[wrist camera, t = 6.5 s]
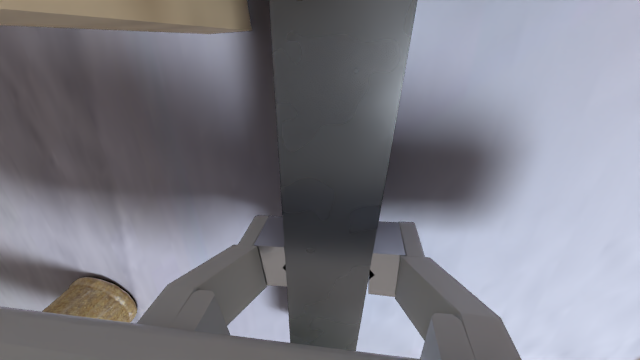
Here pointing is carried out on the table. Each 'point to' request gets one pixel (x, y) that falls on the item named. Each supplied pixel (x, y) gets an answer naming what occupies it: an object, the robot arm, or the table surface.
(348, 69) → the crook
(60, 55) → the table surface
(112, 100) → the table surface
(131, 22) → the bridge
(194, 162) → the table surface
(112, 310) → the sprinkles bottle
